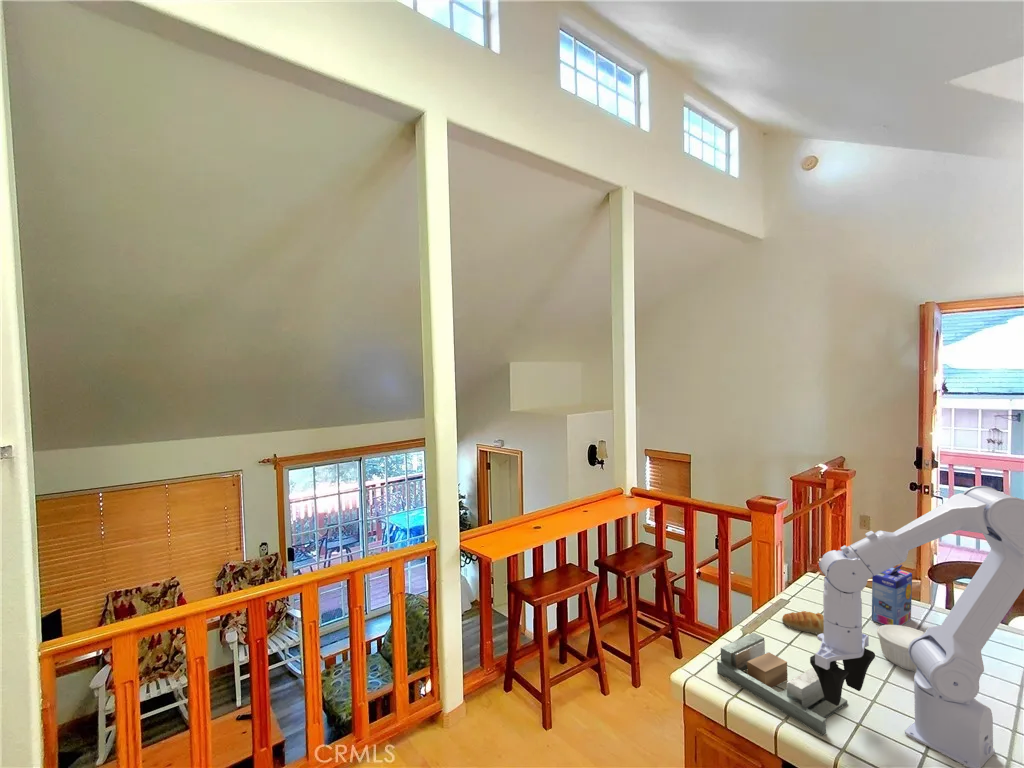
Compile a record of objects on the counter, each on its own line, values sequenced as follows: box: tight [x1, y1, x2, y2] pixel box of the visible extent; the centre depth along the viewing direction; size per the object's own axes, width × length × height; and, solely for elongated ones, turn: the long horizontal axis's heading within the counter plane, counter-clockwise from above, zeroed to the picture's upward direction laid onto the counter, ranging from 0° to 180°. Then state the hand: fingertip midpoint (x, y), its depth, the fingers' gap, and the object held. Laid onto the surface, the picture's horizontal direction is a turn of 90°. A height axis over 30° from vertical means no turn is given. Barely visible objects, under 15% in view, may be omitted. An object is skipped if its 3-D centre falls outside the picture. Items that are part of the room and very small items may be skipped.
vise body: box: [716, 632, 848, 736], centre depth 95 cm, size 21×13×5 cm, turn 30°
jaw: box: [786, 667, 824, 708], centre depth 91 cm, size 3×11×4 cm, turn 120°
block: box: [746, 652, 788, 689], centre depth 98 cm, size 4×7×4 cm, turn 117°
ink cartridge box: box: [871, 564, 913, 626], centre depth 121 cm, size 10×6×14 cm, turn 122°
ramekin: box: [876, 625, 926, 673], centre depth 103 cm, size 11×11×5 cm
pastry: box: [781, 610, 824, 635], centre depth 119 cm, size 9×7×4 cm
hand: (843, 694), depth 86 cm, fingers open, 7 cm apart
